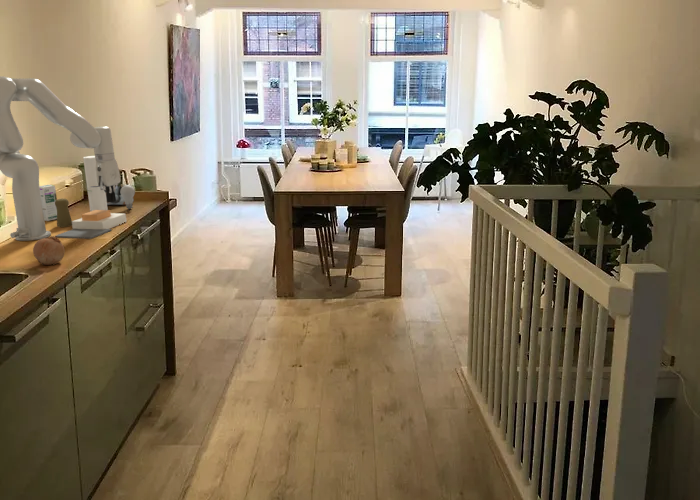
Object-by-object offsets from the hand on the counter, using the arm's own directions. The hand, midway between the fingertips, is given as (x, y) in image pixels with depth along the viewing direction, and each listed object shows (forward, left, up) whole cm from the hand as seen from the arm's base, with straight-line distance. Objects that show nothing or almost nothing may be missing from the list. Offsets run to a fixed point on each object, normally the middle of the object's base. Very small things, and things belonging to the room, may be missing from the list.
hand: (111, 201), depth 299 cm
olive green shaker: (-10, +16, -8) cm, 21 cm away
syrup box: (0, +31, -8) cm, 32 cm away
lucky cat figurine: (+33, +20, -8) cm, 40 cm away
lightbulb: (+23, +7, -8) cm, 25 cm away
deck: (-9, 0, -8) cm, 12 cm away
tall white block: (+12, +15, -8) cm, 21 cm away
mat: (-23, -2, -8) cm, 24 cm away
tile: (-11, 0, -5) cm, 12 cm away
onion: (-62, -18, -8) cm, 65 cm away
